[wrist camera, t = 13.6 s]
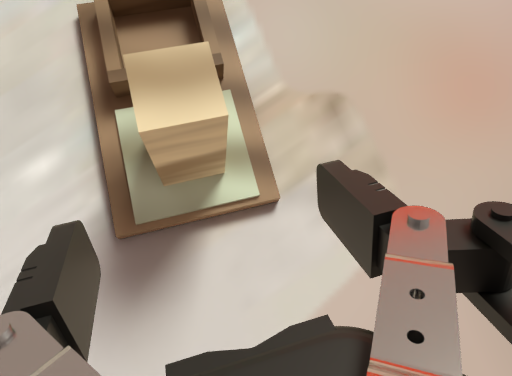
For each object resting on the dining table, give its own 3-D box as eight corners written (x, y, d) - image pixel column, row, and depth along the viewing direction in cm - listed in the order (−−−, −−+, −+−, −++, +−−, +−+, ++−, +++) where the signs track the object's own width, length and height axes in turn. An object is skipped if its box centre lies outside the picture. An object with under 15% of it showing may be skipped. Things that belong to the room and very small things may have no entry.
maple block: (224, 172, 27) (228, 114, 18) (164, 186, 26) (138, 132, 18) (210, 119, 28) (208, 41, 20) (152, 130, 27) (122, 54, 19)
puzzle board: (278, 201, 28) (285, 190, 25) (119, 239, 26) (107, 231, 23) (217, -5, 33) (217, -34, 30) (80, 13, 31) (67, -16, 28)
